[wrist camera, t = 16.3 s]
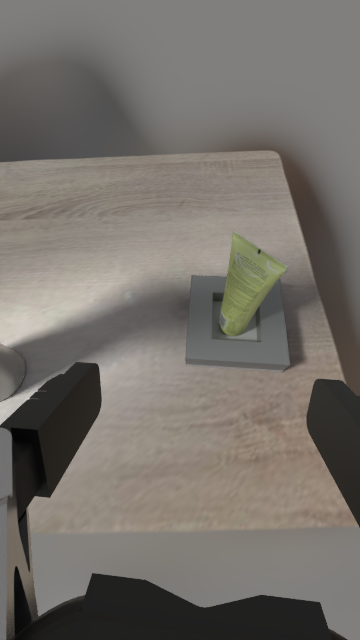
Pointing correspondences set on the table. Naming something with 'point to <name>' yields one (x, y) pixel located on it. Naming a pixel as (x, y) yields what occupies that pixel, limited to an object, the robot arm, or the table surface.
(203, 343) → the holder
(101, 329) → the table surface
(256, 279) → the tube
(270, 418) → the table surface
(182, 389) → the table surface
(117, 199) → the table surface
